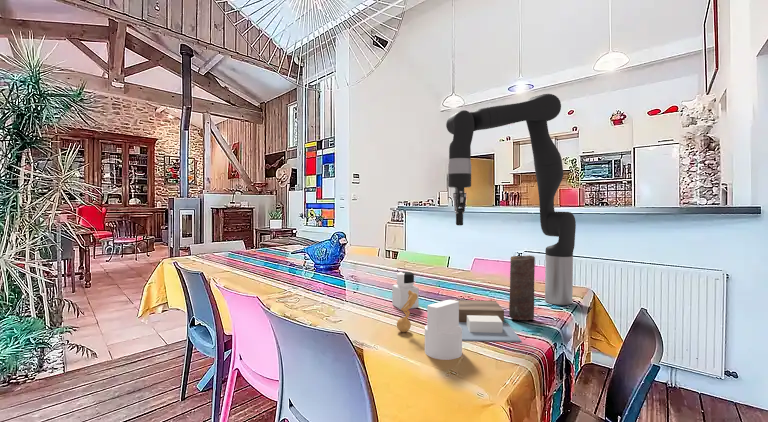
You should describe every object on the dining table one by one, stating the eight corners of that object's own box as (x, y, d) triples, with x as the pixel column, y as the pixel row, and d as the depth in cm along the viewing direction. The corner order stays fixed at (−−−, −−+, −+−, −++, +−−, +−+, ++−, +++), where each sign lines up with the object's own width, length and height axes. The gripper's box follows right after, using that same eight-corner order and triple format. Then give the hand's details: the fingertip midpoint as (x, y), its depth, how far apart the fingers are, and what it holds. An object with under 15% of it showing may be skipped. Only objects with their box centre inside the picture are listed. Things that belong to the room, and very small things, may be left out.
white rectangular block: (469, 321, 110) (469, 332, 110) (502, 322, 109) (502, 332, 109) (466, 315, 116) (466, 325, 116) (497, 315, 115) (497, 326, 115)
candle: (536, 324, 118) (536, 257, 118) (510, 322, 120) (511, 257, 119) (531, 317, 126) (532, 254, 125) (507, 315, 127) (508, 254, 127)
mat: (453, 323, 119) (453, 321, 119) (507, 324, 118) (507, 323, 118) (459, 340, 104) (459, 339, 104) (521, 342, 103) (521, 340, 103)
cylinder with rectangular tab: (440, 343, 103) (440, 297, 102) (469, 352, 96) (469, 303, 96) (417, 352, 96) (417, 303, 96) (446, 363, 90) (446, 310, 90)
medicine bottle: (410, 303, 143) (410, 270, 143) (418, 307, 137) (418, 273, 136) (392, 304, 141) (392, 271, 141) (399, 309, 134) (399, 274, 134)
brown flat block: (452, 311, 132) (453, 300, 132) (495, 312, 131) (495, 300, 131) (456, 322, 120) (457, 309, 120) (503, 323, 119) (504, 310, 119)
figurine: (403, 326, 116) (403, 286, 116) (422, 329, 113) (422, 288, 113) (390, 335, 108) (390, 291, 108) (410, 338, 106) (411, 294, 105)
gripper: (474, 171, 124) (474, 226, 124) (468, 174, 137) (468, 224, 137) (450, 171, 124) (449, 226, 125) (446, 174, 137) (446, 224, 138)
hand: (459, 225), depth 131 cm, fingers closed
